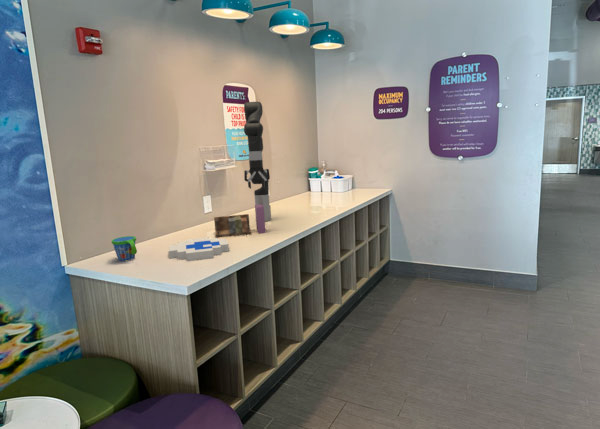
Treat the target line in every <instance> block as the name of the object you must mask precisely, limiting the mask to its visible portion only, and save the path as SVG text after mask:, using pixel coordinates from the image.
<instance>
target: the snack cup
mask: <svg viewBox="0 0 600 429" xmlns="http://www.w3.org/2000/svg"><path fill="white" fill-rule="evenodd" d="M136 241H137V238H136V236H132V235H128V236H120V237H116V238H114V239H111V244H112V245H113V250H114V251H115V254H116V255H115V256H116V257H117V260H118V261H119V260H120V261H121V262H126V261H125V260H128V261H131V259H132V260H134V259H135V258H136V254H137V253H138V250H137V247H136Z"/></svg>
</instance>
